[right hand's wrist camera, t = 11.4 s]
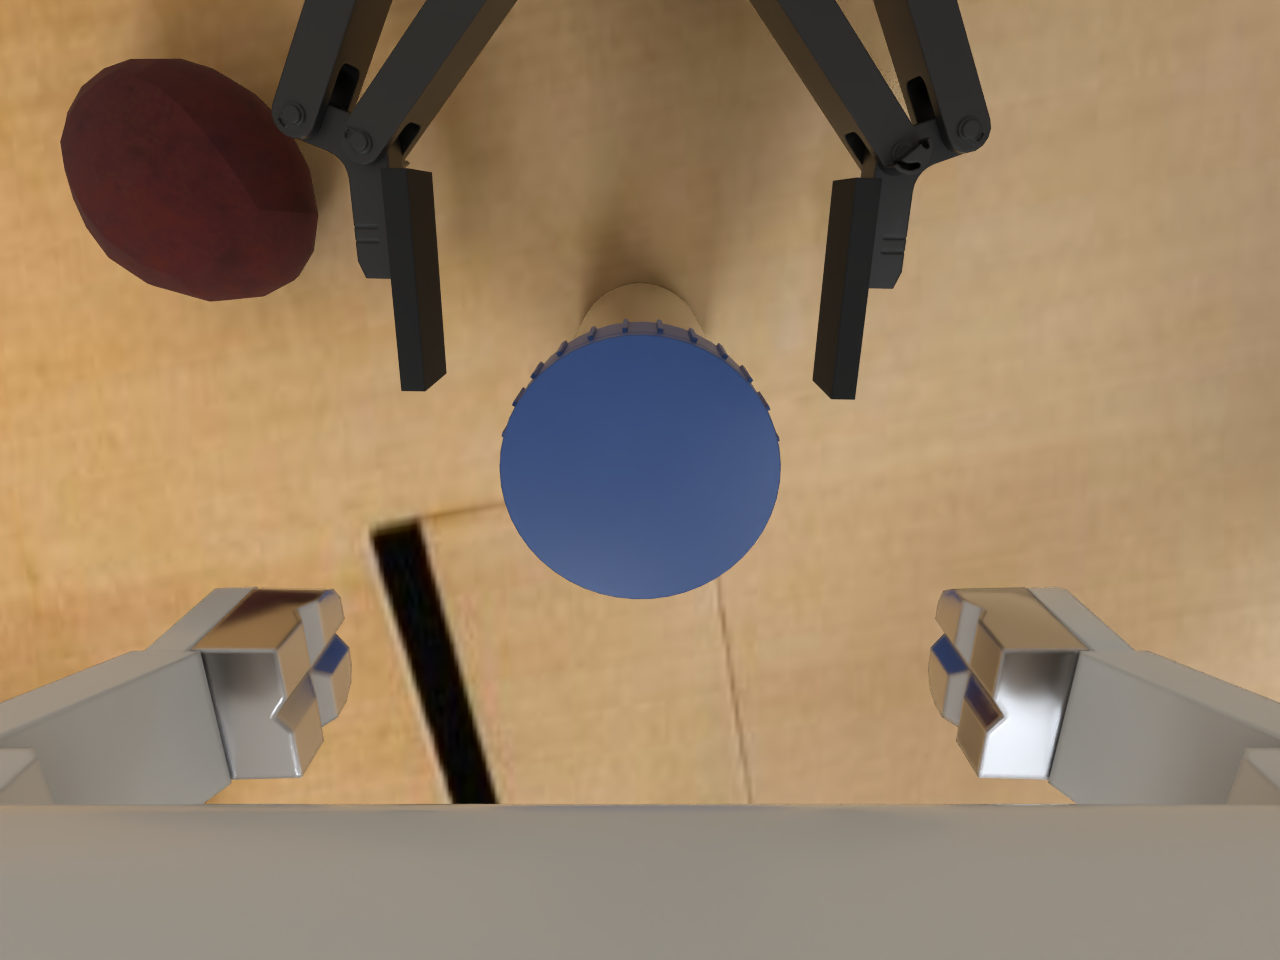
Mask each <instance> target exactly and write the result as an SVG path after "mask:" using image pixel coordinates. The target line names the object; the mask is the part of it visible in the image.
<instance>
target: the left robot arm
mask: <svg viewBox="0 0 1280 960" xmlns="http://www.w3.org/2000/svg"><path fill="white" fill-rule="evenodd" d="M516 1H517V0H426V2H425V3H424V5H423V6H422V8H421V9H420V11H419V12H418V14H417V15H416V17H415V18H414V20H413V21H412V23H411V24H410V26H409V27H408V29H407V30H406V32H405V33H404V35H403V36H402V38H401V39H400V41H399V42H398V44H397V45H396V47H395V48H394V50H393V51H392V53H391V54H390V56H389V57H388V59H387V60H386V62H385V63H384V65H383V66H382V68H381V69H380V71H379V72H378V74H377V75H376V77H375V78H374V80H373V81H372V83H371V84H370V86H369V87H368V89H367V90H366V92H365V93H364V94H363V96H362V97H361V99H360V100H359V102H358V103H357V100H358V97H359V94H360V91H361V88H362V86H363V83H364V80H365V77H366V74H367V71H368V68H369V66H370V63H371V60H372V57H373V54H374V51H375V48H376V46H377V43H378V40H379V37H380V34H381V31H382V28H383V25H384V23H385V20H386V17H387V14H388V11H389V8H390V5H391V3H392V0H305V2H304V5H303V8H302V12H301V15H300V18H299V21H298V24H297V28H296V31H295V34H294V37H293V40H292V43H291V47H290V50H289V53H288V56H287V59H286V63H285V66H284V69H283V72H282V75H281V79H280V82H279V85H278V88H277V91H276V94H275V98H274V101H273V104H272V117H273V120H274V123H275V124H276V126H277V128H278V129H279V130H280V131H281V132H282V133H284V134H285V135H286V136H289V137H292V138H295V139H299V140H302V141H304V142H307V143H309V144H312V145H314V146H317V147H319V148H322V149H324V150H327V151H329V152H331V153H333V154H334V155H336V156H337V157H338V158H339V159H340V160H341V161H342V163H343V164H344V165H345V168H346V170H347V172H348V176H349V182H350V192H351V201H352V210H353V219H354V225H355V237H356V241H357V242H356V247H357V256H358V262H359V264H360V266H361V268H362V270H363V272H364V274H365V276H366V278H382V279H391V285H392V296H393V307H394V317H395V328H396V338H397V349H398V359H399V370H400V380H401V391H426V390H427V389H429V388H430V387H431V386H432V385H433V384H434V383H436V382H437V381H438V380H439V379H440V378H441V377H443V376H444V375H445V374H446V361H445V347H444V333H443V319H442V306H441V292H440V278H439V264H438V251H437V237H436V223H435V209H434V196H433V182H432V172H426V171H420V170H414V169H408V168H405V167H406V166H407V165H409V164H410V163H409V162H408V161H406V160H405V158H406V157H407V155H408V154H409V153H410V151H411V150H412V148H413V147H414V146H415V144H416V143H417V141H418V140H419V138H420V137H421V136H422V134H423V133H424V131H425V130H426V129H427V127H428V126H429V124H430V123H431V121H432V120H433V119H434V117H435V116H436V114H437V113H438V112H439V110H440V109H441V107H442V106H443V105H444V103H445V102H446V100H447V99H448V97H449V96H450V95H451V93H452V92H453V90H454V89H455V88H456V86H457V85H458V83H459V82H460V80H461V79H462V78H463V76H464V75H465V73H466V72H467V71H468V69H469V68H470V66H471V65H472V63H473V62H474V61H475V59H476V58H477V56H478V55H479V54H480V52H481V51H482V49H483V48H484V47H485V45H486V44H487V42H488V41H489V39H490V38H491V37H492V35H493V34H494V32H495V31H496V30H497V28H498V27H499V25H500V24H501V22H502V21H503V20H504V18H505V17H506V15H507V14H508V13H509V11H510V10H511V8H512V7H513V5H514V4H515V3H516ZM873 1H874V4H875V7H876V11H877V14H878V17H879V20H880V23H881V27H882V30H883V33H884V36H885V39H886V43H887V46H888V49H889V52H890V55H891V58H892V62H893V65H894V68H895V71H896V74H897V78H898V81H899V84H900V87H901V90H902V94H903V97H904V100H905V103H906V106H907V109H908V113H909V116H910V119H911V121H910V120H909V118H908V117H907V115H906V113H905V112H904V110H903V109H902V107H901V105H900V104H899V102H898V101H897V99H896V97H895V96H894V94H893V92H892V91H891V89H890V88H889V86H888V84H887V83H886V81H885V80H884V78H883V76H882V75H881V73H880V72H879V70H878V68H877V67H876V65H875V63H874V62H873V60H872V59H871V57H870V55H869V54H868V52H867V51H866V49H865V47H864V46H863V44H862V43H861V41H860V39H859V38H858V36H857V34H856V33H855V31H854V30H853V28H852V26H851V25H850V23H849V22H848V20H847V18H846V17H845V15H844V14H843V12H842V10H841V9H840V7H839V5H838V4H837V2H836V1H835V0H750V2H751V3H752V5H753V6H754V8H755V9H756V11H757V12H758V14H759V16H760V17H761V19H762V20H763V22H764V23H765V25H766V26H767V28H768V29H769V31H770V32H771V34H772V35H773V37H774V38H775V40H776V41H777V43H778V44H779V46H780V48H781V49H782V51H783V52H784V54H785V55H786V57H787V58H788V60H789V61H790V63H791V64H792V66H793V67H794V69H795V70H796V72H797V73H798V75H799V77H800V78H801V80H802V81H803V83H804V84H805V86H806V87H807V89H808V90H809V92H810V93H811V95H812V96H813V98H814V99H815V101H816V102H817V104H818V106H819V107H820V109H821V110H822V112H823V113H824V115H825V116H826V118H827V119H828V121H829V122H830V124H831V125H832V127H833V128H834V130H835V131H836V133H837V135H838V136H839V138H840V139H841V141H842V142H843V144H844V145H845V147H846V148H847V150H848V151H849V153H850V154H851V156H852V157H853V159H854V160H855V162H856V164H857V165H858V167H859V168H860V170H861V171H862V172H861V178H850V179H843V180H836V181H833V186H832V196H831V205H830V215H829V225H828V235H827V244H826V254H825V264H824V274H823V283H822V293H821V303H820V313H819V322H818V332H817V342H816V352H815V362H814V371H813V381H814V382H815V383H816V384H817V385H818V386H819V387H820V388H821V389H822V390H823V391H824V392H825V393H826V394H827V395H828V396H829V397H830V398H831V399H851V400H855V394H856V386H857V378H858V370H859V362H860V354H861V346H862V337H863V329H864V321H865V313H866V305H867V297H868V289H869V288H885V289H893V287H894V286H895V284H896V282H897V280H898V278H899V276H900V274H901V272H902V266H903V259H904V251H905V244H906V237H907V230H908V222H909V215H910V208H911V200H912V193H913V188H914V184H915V182H916V180H917V178H918V177H919V175H920V174H921V173H922V172H923V171H924V170H925V169H926V168H928V167H929V166H931V165H933V164H936V163H938V162H941V161H944V160H947V159H950V158H953V157H955V156H958V155H961V154H964V153H968V152H972V151H976V150H977V149H978V148H980V147H981V146H982V145H983V144H984V143H985V141H986V140H987V139H988V137H989V133H990V130H991V124H990V117H989V113H988V110H987V106H986V103H985V99H984V96H983V92H982V88H981V85H980V81H979V78H978V74H977V71H976V67H975V63H974V60H973V56H972V53H971V49H970V46H969V42H968V38H967V35H966V31H965V28H964V24H963V21H962V17H961V13H960V10H959V6H958V3H957V0H873ZM356 103H357V105H356ZM911 122H912V123H911Z"/></svg>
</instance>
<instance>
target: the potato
mask: <svg viewBox="0 0 1280 960" xmlns="http://www.w3.org/2000/svg"><path fill="white" fill-rule="evenodd" d="M60 143H61V149H62V156H63V162H64V168H65V172H66V176H67V179H68V183H69V186H70V189H71V193H72V196H73V199H74V201H75V204H76V206H77V208H78V210H79V212H80V215H81V217H82V219H83V221H84V223H85V226H86V228H87V229H88V230H89V232H90V233H91V234H92V236H93V237H94V239H95V240H96V241H97V243H98V244H99V245H100V247H101V248H102V249H103V251H104V252H105V253H106V255H107V256H108V257H109V258H110V259H112V260H113V261H115V262H116V263H118V264H119V265H121V266H122V267H124V268H125V269H127V270H128V271H130V272H131V273H133V274H134V275H136V276H137V277H139V278H140V279H142V280H143V281H145V282H146V283H148V284H150V285H153V286H156V287H160V288H164V289H167V290H171V291H174V292H178V293H182V294H185V295H189V296H192V297H196V298H199V299H203V300H207V301H222V300H232V299H242V298H252V297H261V296H265V295H267V294H269V293H271V292H273V291H275V290H277V289H279V288H280V287H282V286H284V285H286V284H288V283H290V282H292V281H294V280H295V279H296V278H297V277H298V276H299V275H300V273H301V271H302V270H303V268H304V266H305V265H306V263H307V261H308V260H309V258H310V256H311V255H312V253H313V251H314V245H315V237H316V228H317V220H318V211H317V206H316V201H315V195H314V190H313V185H312V179H311V174H310V170H309V168H308V165H307V163H306V161H305V159H304V158H303V156H302V154H301V152H300V150H299V148H298V146H297V144H296V142H295V140H294V138H292V137H289V136H286V135H285V134H284V133H282V132H281V131H280V130H279V129H278V128H277V126H276V124H275V123H274V120H273V117H272V110H271V109H270V108H269V107H268V106H267V105H266V104H265V103H264V102H263V101H262V100H261V99H260V98H259V97H258V96H257V95H256V94H254V93H252V92H251V91H249V90H247V89H246V88H244V87H243V86H241V85H239V84H238V83H236V82H235V81H233V80H231V79H230V78H228V77H226V76H225V75H223V74H221V73H219V72H217V71H216V70H214V69H212V68H209V67H206V66H202V65H199V64H196V63H193V62H189V61H186V60H183V59H130V60H127V61H124V62H121V63H118V64H115V65H113V66H110V67H107V68H104V69H103V70H102V71H100V72H99V73H98V74H97V75H95V76H94V77H93V78H92V79H91V80H89V81H88V82H87V83H86V84H84V85H83V86H82V87H81V89H80V91H79V93H78V94H77V96H76V98H75V100H74V102H73V103H72V105H71V107H70V109H69V111H68V112H67V117H66V122H65V126H64V130H63V134H62V137H61V141H60Z"/></svg>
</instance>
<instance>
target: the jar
mask: <svg viewBox="0 0 1280 960" xmlns="http://www.w3.org/2000/svg"><path fill="white" fill-rule="evenodd" d="M624 319H628V321H629V322H654V323H657V319H659V320H662V323H663V324H667V325H671V326H675V327H679V328H683V329H685V330H689V328H692V329H694V331H695V333H696V334H698V335H699V336H701V337H703V338H705V339H706V340H707V338H706V336H705V334H704V332H703V330H702V328H701V326H700V324H699V322H698V320H697V318H696V317H695V315H694V313H693V311H692V310H691V309H690V307H689V306H688V305H687V304H686V303H685V302H684V301H683V300H682V299H681V298H680V297H679V296H678V295H676V294H675V293H673V292H672V291H670V290H668V289H666V288H663V287H661V286H658V285H654V284H648V283H633V284H626V285H623V286H620V287H617V288H615V289H613V290H611V291H609V292H607V293H606V294H604V295H603V296H602V297H600V298H599V299H598V300H597V301H596V302H595V303H594V304H593V305H592V306H591V308H590V309H589V311H588V312H587V314H586V316H585V318H584V320H583V321H582V323H581V325H580V327H579V329H578V331H577V333H576V335H575V337H574V339H576V338H577V337H579V336H581V335H583V334H586V333H588V332H589V331H590V329H591V327H593V326H596V329H598V328H602V327H605V326H608V325H612V324H619V323H623V320H624ZM574 339H573V340H574Z"/></svg>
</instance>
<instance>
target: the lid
mask: <svg viewBox="0 0 1280 960" xmlns="http://www.w3.org/2000/svg"><path fill="white" fill-rule="evenodd" d="M531 378H532V380H531V381H530V383H529V385H528V386H527V388H526V389H525V388H522V390H521V391H520V393H519V394H518V396H517V397H516V399H515V400H514V402H513V404H512V406H514V407H515V408H514V410H513V412H512V414H511V416H510V418H509V421H508V424H507V426H506V428H505V429H504V431H503V433H502V437H503V441H502V447H501V452H500V479H501V488H502V492H503V496H504V501H505V504H506V507H507V509H508V512H509V515H510V517H511V520H512V522H513V523H514V525H515V527H516V529H517V531H518V533H519V534H520V536H521V537H522V539H523V540H524V541H525V543H526V544H527V545H528V547H529V548H530V549H531V550H532V551H533V552H534V554H535V555H536V556H537V557H538V558H539V559H540V560H541V561H542V562H543V563H545V564H546V565H547V566H548V567H549V568H551V569H552V570H553V571H554V572H556V573H557V574H559V575H561V576H562V577H564V578H565V579H567V580H568V581H570V582H572V583H574V584H577V585H579V586H581V587H583V588H585V589H588V590H591V591H594V592H597V593H600V594H604V595H608V596H613V597H618V598H628V599H653V598H661V597H668V596H672V595H676V594H680V593H684V592H687V591H690V590H692V589H695V588H697V587H700V586H702V585H704V584H706V583H708V582H710V581H712V580H714V579H715V578H717V577H718V576H720V575H721V574H723V573H724V572H726V571H727V570H729V569H730V568H731V567H732V566H733V565H735V564H736V563H737V562H738V561H739V560H740V559H741V558H742V557H743V556H744V555H745V554H746V553H747V552H748V551H749V549H750V548H751V547H752V546H753V545H754V544H755V542H756V541H757V539H758V538H759V536H760V535H761V533H762V532H763V530H764V528H765V526H766V524H767V522H768V520H769V518H770V516H771V514H772V511H773V508H774V505H775V502H776V499H777V494H778V489H779V483H780V470H781V462H780V451H779V444H778V441H779V436H778V435H777V433H776V431H775V428H774V425H773V423H772V420H771V418H770V415H769V413H768V411H769V410H770V407H769V405H768V404H767V402H766V401H765V399H764V398H763V396H762V395H761V393H760V392H756V390H755V389H754V387H753V385H752V384H751V382H752V381H753V380H752V378H751V377H750V375H749V373H748V372H747V370H746V369H745V367H744V366H743V365H742V366H740V367H739V366H738V365H737V364H736V363H735V362H734V361H733V360H732V359H731V358H730V357H729V356H728V355H727V353H726V352H725V350H724V348H723V347H722V345H721V344H719V343H718V344H717V346H716V345H715V344H713V343H712V342H710V341H708V340H706V339H705V338H703V337H701V336H699V335H698V334H696V333H695V331H694V329H692V328H689V330H685V329H683V328H679V327H675V326H671V325H667V324H663V323H662V320H659V319H657V323H654V322H629V321H628V319H624V320H623V323H619V324H612V325H608V326H605V327H602V328H598V329H596V326H593V327H591V329H590V331H589V332H588V333H586V334H583V335H581V336H579V337H577V338H576V339H574V340H572V341H571V342H569V343H567V341H564V342H563V343H562V344H561V346H560V347H559V349H558V351H557V352H556V353H554V354H553V355H552V356H551V357H550V358H549V359H548V360H547V361H546V362H545V363H542V362H540V363H539V364H538V366H537V367H536V369H535V370H534V372H533V374H532V375H531Z"/></svg>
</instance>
